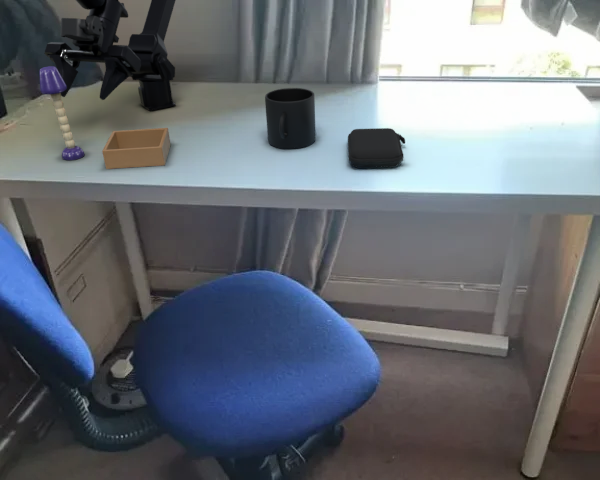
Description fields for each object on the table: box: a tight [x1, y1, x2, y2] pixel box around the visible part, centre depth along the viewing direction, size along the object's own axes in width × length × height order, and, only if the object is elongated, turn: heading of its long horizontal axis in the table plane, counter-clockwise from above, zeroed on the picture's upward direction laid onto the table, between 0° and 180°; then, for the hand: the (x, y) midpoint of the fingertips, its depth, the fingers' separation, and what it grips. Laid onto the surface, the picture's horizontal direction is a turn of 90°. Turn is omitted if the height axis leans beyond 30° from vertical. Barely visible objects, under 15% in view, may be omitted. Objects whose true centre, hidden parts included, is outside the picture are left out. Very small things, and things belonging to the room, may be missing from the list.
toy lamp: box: [38, 65, 85, 161], centre depth 116 cm, size 5×5×17 cm
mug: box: [264, 87, 317, 150], centre depth 120 cm, size 9×12×9 cm
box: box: [101, 127, 172, 170], centre depth 119 cm, size 11×11×4 cm
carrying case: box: [347, 127, 406, 169], centre depth 115 cm, size 11×3×15 cm
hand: (81, 97), depth 121 cm, fingers open, 9 cm apart
